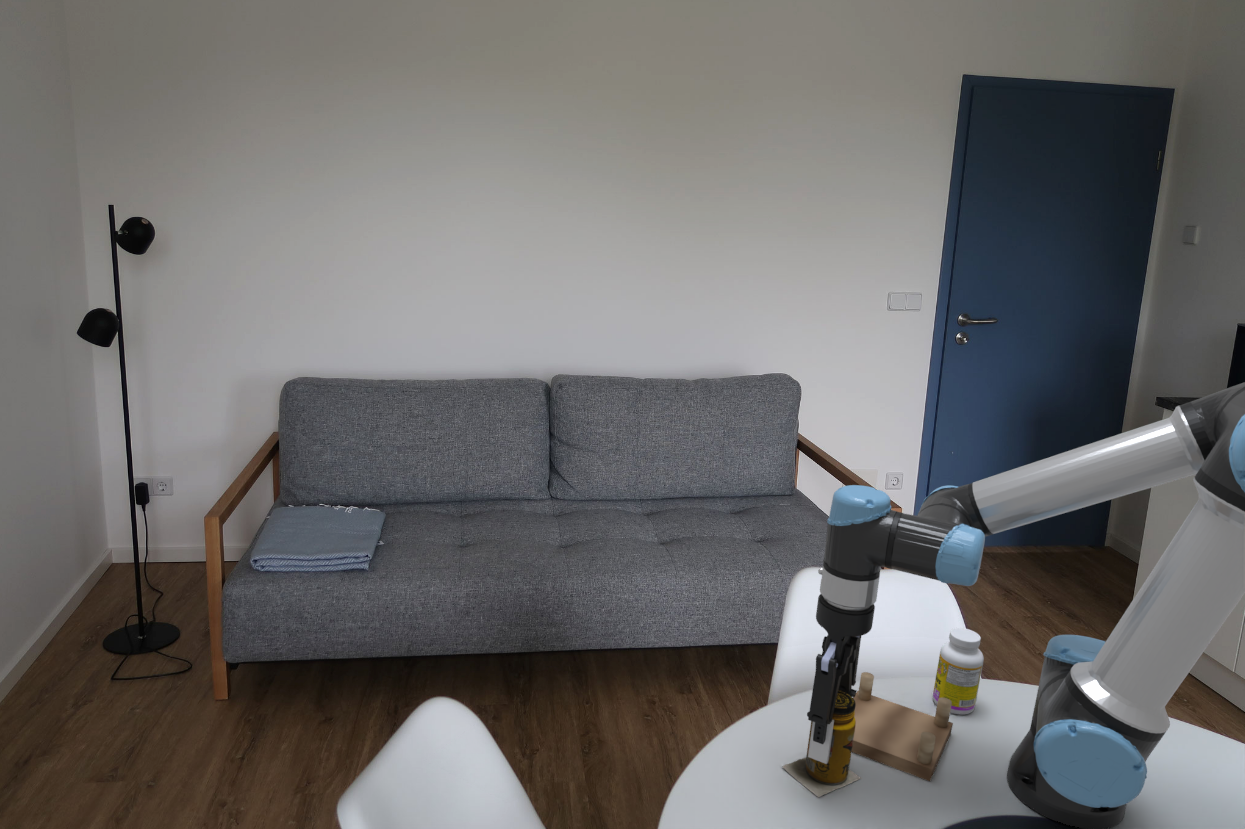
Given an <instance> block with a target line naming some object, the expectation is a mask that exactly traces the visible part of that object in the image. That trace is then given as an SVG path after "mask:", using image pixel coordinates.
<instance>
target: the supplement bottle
mask: <svg viewBox="0 0 1245 829" xmlns="http://www.w3.org/2000/svg"><path fill="white" fill-rule="evenodd" d="M948 639H949V641H946V642H945V643H944V644H943V645H942V646H941V647H940V650H939V656H938V663H937V668H936V674H935V681H934V686H933V691H932V692H933V693H932V701H933V702H934V704H935V706H937V703H938V699H939V698H947V699H949V700H950V701H951V702H952V705H951V710H950V714H953V715H954V714H955V715H968V714H971V713H972V712H974V710H975V708H976V704H977V698H978V692H979V686H980V681H981V676H982V671H983V665H984V659H985V658H984V655H983V652H982V651H981V649H979V647H980V645H981V639H982V637H981V636H980V634H979V633H978V632H976V631H974V630H972V629H969V628H964V627H954V628H952V629H951V630H950V631H949V635H948Z"/></svg>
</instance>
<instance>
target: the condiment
mask: <svg viewBox="0 0 1245 829" xmlns="http://www.w3.org/2000/svg"><path fill="white" fill-rule="evenodd" d="M855 707H856V703H855V700H854V699H853V697H851V696H850V695H849V694H847V693H846V692H843V691H840V690H838V694H837V698H836V703H835V707H834V712H833V717H832V720H834V725H833V732H832V739H831V747H830V754H829V761H828V763H827V764H825V763H822V762H820V761H817V760H815V759H812V758H810V757H808V753H809V745H810V738H811V730H812V723H813V722H812V721H810V728H809V736H808V741H807V749H806V757H803V758H799V759H796V760H795V761H793V762H790V763H786V764H785V765H782V768H783V769H784V770H785V771H786V772H787V773H788V774H789V775H790V776H792V777H793V778H794V779H795V780H796V781H797V782H799V783H800V784H801V786H802V787H805V788H806V789H808V790H809V791H810V792H811V793H813V794H814V795H815V796H817V798H819V797H823V795H827V794H828V793H831V792H833V791H836V790H838V789H841V788H843V787H846V786H848V785H849V784H853V783H854V782H857V781H858V780H860V779H862V778H861V776H859V775H858V774H856V773H855V772H854V771H852V770H851V769H850V764H851V757H852V752H851V751H852V747H853V738H854V732H855V724H856V720H855V717H854V715H855Z"/></svg>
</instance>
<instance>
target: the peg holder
mask: <svg viewBox="0 0 1245 829" xmlns="http://www.w3.org/2000/svg"><path fill="white" fill-rule="evenodd" d="M874 679H875V675H874V674H873V673H871V672H868V671H867V672H866V671H863V672H861V674H860V679H859V680H860V681H859V685H858V686H859V688H858V690H857V691H856V695H855V697H852V698H853V699H854V700H855V703H856V707H855V715H854V717H855V720H856V724H855V732H854V738H853V747H852V751H851V753H854V754H856V755H859V756H861V757H863V758H867V759H869V760H872V761H875V762H877V763H880V764H883V765H884V766H887V767H890V768H893V769H896V770H898V771H901V772H904V773H906V774H908V775H912V776H915V777H916V778H918V779H922V780H925V781H927V782H932V779H933V776H934V774H935V772H936V770H937V767H938V766H939V763H940V760H941V758H942V755H943V754H944V751H945V749H946V746H947V745H948V743H949V740H950V737H951V735H952V729H953V726H954V725H953V724H954V723H953V722H951V721H950V716H951V713H950V710H951V705H952V702H951V701H950V700H949V699H947V698H939V699H938V703H937V705H936V710H935V715H931V714H928V713H925V712H923V711H919V710H916V709H913V708H910V707H908V706H904V705H902V704H899V703H896V702H893V701H891V700H888V699H884V698H881V697H879V696H877V695H876V696H875V695H872V693H873V686H874Z"/></svg>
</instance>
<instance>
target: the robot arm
mask: <svg viewBox="0 0 1245 829" xmlns="http://www.w3.org/2000/svg"><path fill="white" fill-rule="evenodd" d="M1191 476H1194V477H1193V480H1192V481H1193V483H1194V487H1195V489H1196V492H1197V496H1198V500H1197V501H1196V503H1195V504H1194V506H1193V508H1191V511H1190V512H1189V513H1188V515H1187V516H1186V518H1185V519H1184V521H1183V522H1182V525H1180V527H1179V528H1178V531H1176V533H1175V535H1174V536H1173V537H1172V539H1171V541H1170V543H1169V544H1168V546H1167V547H1166V548H1165V550H1164V552H1163V553H1162V554H1161V556H1160V558H1159V559H1158V561H1157V562H1156V564H1155V565H1154V567H1153V568H1152V570H1151V572H1150V574H1149V575H1147V578H1146V580H1145V581H1144V582H1143V584H1142V585H1141V586H1140V587H1139V588H1140V589H1139V590H1138V592H1137V593H1136V595H1135V596H1134V597H1133V599H1132V601H1131V602H1130V604H1129V605H1128V606H1127V608H1126V609H1125V611H1124V613H1123V615H1122V616H1121V618H1120V619H1119V620H1118V623H1116V625H1115V627H1114V628H1113V629H1112V631H1111V633H1110V635H1109V636H1108V637H1107V639H1106V640H1101V639H1098V638H1094V637H1091V636H1085V635H1076V634H1058V635H1055V636H1053V637H1051V639H1049V641H1048V642H1047V646H1046V648H1045V651H1044V652H1043V656H1044V659H1043V663H1042V668H1041V673H1040V677H1039V682H1038V688H1037V692H1036V697H1035V698H1036V699H1035V702H1034V708H1033V711H1032V712H1033V713H1032V718H1031V721H1030V722H1031V723H1030V728H1029V730H1028V731H1027V733H1026V735H1025V736H1024V737H1023V739H1022V740H1021V742H1020V743H1019V745H1017V748H1016V749H1015V751H1014V752H1013V753H1012V755H1011V757H1010V758H1009V761H1008V762H1009V763H1008V767H1007V771H1006V780H1007V783H1008V786H1009V787H1010V789H1011V791H1012V792H1013V793H1014V794H1015V796H1016V797H1017V798H1018V799H1019V800H1020V801H1021V802H1022V803H1023V804H1024V805H1026V806H1027V807H1029V808H1030V809H1032V810H1033V811H1035V812H1037V813H1038V814H1040V815H1041V816H1043V817H1046V818H1047V819H1050V820H1052V821H1054V822H1057V821H1058V822H1057V823H1059V822H1061V823H1060V824H1062V823H1063V824H1062V825H1065V824H1066V825H1065V826H1069V825H1070V826H1069V827H1072V826H1075V827H1074V828H1077V827H1079V828H1078V829H1110V828H1113V827H1116V826H1118V825H1119V824H1120V823H1121V822H1122V821H1123V819H1124V816H1125V813H1126V807H1127V804H1128V803H1130V802H1132V801H1133V800H1135V798H1137V797H1138V796H1139V795H1140V794H1141V793H1142V790H1143V788H1144V785H1145V781H1146V779H1147V778H1148V777H1147V775H1148V768H1147V763H1146V762H1147V760H1148V758H1149V757H1150V756H1151V754H1152V752H1153V751H1154V750H1155V749H1156V747H1157V746H1158V744H1159V742H1160V741H1161V740H1162V738H1163V737H1164V735H1165V734H1166V733H1167V731H1168V729H1170V726H1171V721H1170V718H1169V716H1168V713H1167V710H1166V706H1167V704H1168V703H1169V701H1170V700H1171V698H1173V695H1174V694H1175V693H1176V691H1177V690H1178V689H1179V687H1180V686H1181V684H1182V683H1183V681H1184V680H1185V678H1186V677H1187V676H1188V675H1189V673H1190V671H1191V670H1192V669H1193V667H1194V666H1195V664H1196V663H1197V661H1198V660H1199V658H1200V657H1201V656H1202V655H1203V653H1204V652H1205V650H1206V649H1207V648H1208V646H1209V645H1210V643H1211V642H1212V640H1213V639H1214V638H1215V636H1216V635H1217V633H1218V632H1219V630H1220V629H1221V628H1222V626H1223V625H1224V623H1225V622H1226V621H1227V619H1228V617H1229V616H1230V615H1231V613H1232V612H1233V611H1234V609H1235V608H1236V607H1237V605H1238V604H1239V602H1240V601H1241V600H1242V598H1243V596H1244V595H1245V381H1244V382H1242V383H1239V384H1236V385H1233V386H1230V387H1228V388H1225V389H1222V390H1219V391H1217V392H1214V393H1211V394H1208V395H1206V396H1203V397H1200V398H1198V399H1194V400H1191V401H1189V402H1185V403H1182V404H1180V405H1177V406H1175V409H1174V410H1173V412H1172V413H1171V415H1170V416H1169V417H1167V418H1165V419H1161V420H1158V421H1155V422H1152V423H1148V424H1146V425H1142V426H1140V427H1137V428H1134V429H1131V430H1128V431H1124V432H1122V433H1118V434H1116V435H1113V436H1109V437H1106V438H1104V439H1100V440H1097V441H1094V442H1092V443H1091V442H1090V443H1089V444H1085V445H1082V446H1078V447H1076V448H1073V449H1069V450H1068V451H1067V450H1066V451H1064V452H1061V453H1058V454H1055V455H1052V456H1050V457H1047V458H1043V459H1040V460H1036V461H1034V462H1031V463H1028V464H1025V465H1022V466H1018V467H1016V468H1013V469H1010V470H1007V471H1002V472H1000V473H997V474H995V475H992V476H989V477H985V478H983V479H980V480H976V481H974V482H972V483H968V484H964V485H960V486H957V485H942V486H940V487H937V488H935V489H934V490H933V491H931V492H930V493H929V495H927V496H926V497H925V498H924V499H923V501H922V503H921V506H920V508H919V510H918V513H917V514H916V515H913V514H909V513H904V512H900V511H897V510H893V509H892V505H891V497H890V496H889V495H888V493H886V492H885V491H883V490H880V489H877V488H875V487H872V486H868V485H857V484H852V485H851V484H850V485H844V486H841V487H839V488H838V489H836V491H834V493H833V495H832V501H831V507H830V510H829V516H828V518H827V526H826V528H827V529H826V536H825V538H826V539H825V547H824V555H823V562H822V567H819V569H818V570H817V572H818V574H819V575H821V579H820V584H819V585H820V586H819V592H820V594H819V595H818V598H817V604H816V605H817V606H816V611H815V612H816V613H815V619H816V623H817V624H818V625H819V626H820V627H821V628H823V630H825V631H826V632H827V636H826V635H825V636H824V637H823V639H822V645H821V648H822V652H821V653H818V654H817V655H816V656H815V657H816V658H815V672H814V673H815V674H814V679H813V685H812V690H811V691H812V692H811V699H810V704H809V711H808V712H806V716H807V718H808V719H807V720H808V721H810V722H811V721H812V722H813V723H812V730H811V738H810V745H809V753H808V757H810V758H812V759H815V760H817V761H820V762H822V763H825V764H827V763H828V761H829V754H830V747H831V739H832V732H833V725H834V720H832V717H833V712H834V707H835V703H836V698H837V694H838V690H840V691H843V692H846V693H847V694H849V695H850V696H851V697H852V698H853V697H855V695H856V693H857V691H858V690H856V689H854V688H852V687H854V686H855V685H856V683H857V681H856V679H857V671H858V664H859V657H860V656H859V655H860V647H861V641H862V636H865V635H867V634H868V633H869V632H871V630H872V628H873V624H874V622H873V621H874V615H875V609H876V606H875V603H876V602H877V597H878V590H879V586H880V585H879V583H880V576H881V567H882V568H886V569H890V570H896V571H899V572H903V573H907V574H911V575H914V576H919V577H924V578H926V579H931V580H936V581H938V582H941V583H943V584H952V585H953V584H954V585H959V586H966V587H970V586H973V585H975V583H977V581H978V578H979V574H980V570H981V564H982V559H983V552H984V548H985V541H986V537H990V536H993V535H994V534H998V533H1001V532H1005V531H1007V530H1011V529H1015V528H1019V527H1022V526H1025V525H1029V524H1032V523H1035V522H1039V521H1042V520H1045V519H1048V518H1053V517H1056V516H1059V515H1062V514H1065V513H1070V512H1074V511H1077V510H1079V509H1080V510H1081V509H1082V508H1083V509H1084V508H1086V507H1090V506H1094V505H1096V504H1100V503H1104V502H1106V501H1110V500H1113V499H1118V498H1121V497H1124V496H1127V495H1130V494H1133V493H1138V492H1141V491H1144V490H1148V489H1151V488H1155V487H1158V486H1161V485H1162V486H1163V485H1165V484H1168V483H1171V482H1175V481H1178V480H1183V479H1186V478H1188V477H1191Z"/></svg>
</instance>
